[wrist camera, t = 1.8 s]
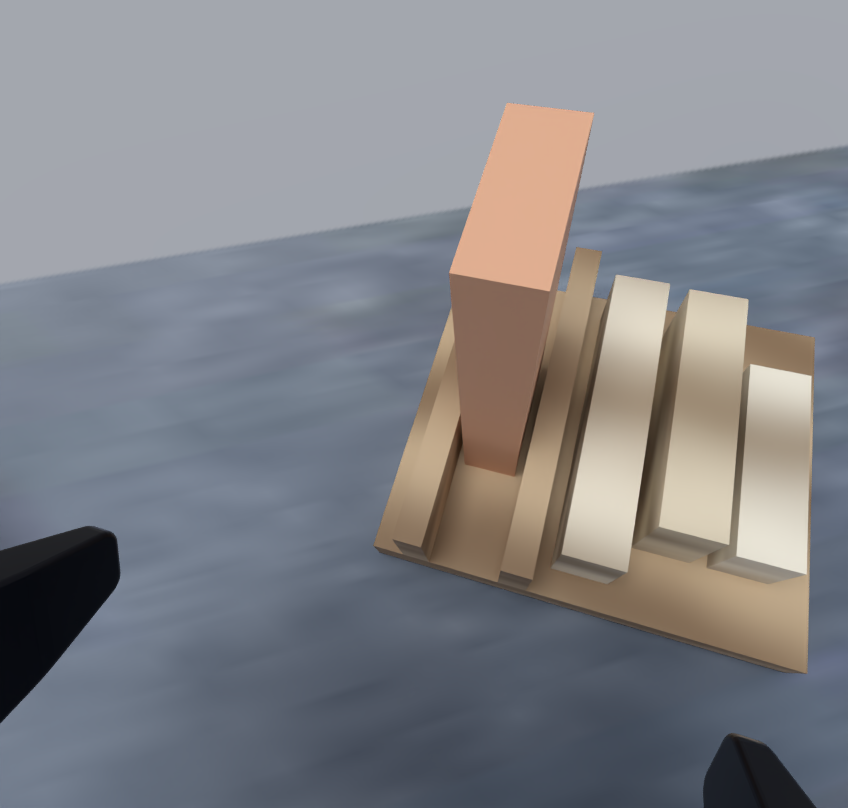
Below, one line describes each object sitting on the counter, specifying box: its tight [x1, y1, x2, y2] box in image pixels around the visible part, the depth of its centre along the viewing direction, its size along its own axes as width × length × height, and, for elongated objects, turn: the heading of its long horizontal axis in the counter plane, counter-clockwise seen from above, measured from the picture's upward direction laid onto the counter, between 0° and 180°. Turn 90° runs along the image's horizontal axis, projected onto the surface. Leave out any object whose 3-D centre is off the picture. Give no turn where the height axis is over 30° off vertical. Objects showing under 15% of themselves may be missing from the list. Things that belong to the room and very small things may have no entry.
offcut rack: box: [373, 247, 815, 674], centre depth 21 cm, size 13×15×5 cm
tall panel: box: [449, 103, 594, 477], centre depth 17 cm, size 5×2×12 cm, turn 164°
